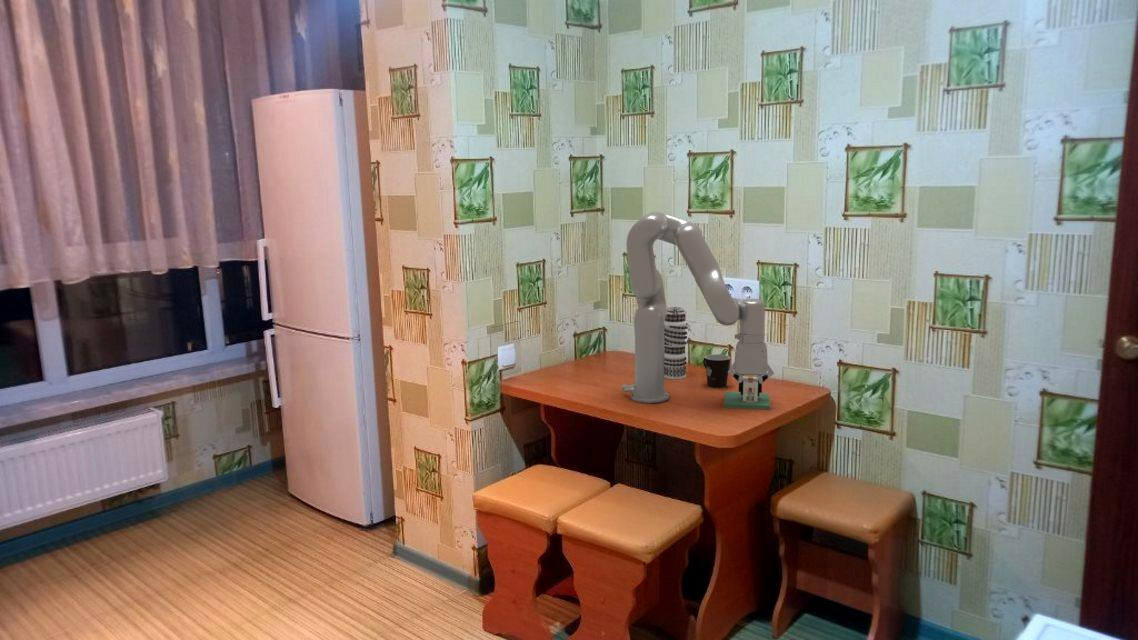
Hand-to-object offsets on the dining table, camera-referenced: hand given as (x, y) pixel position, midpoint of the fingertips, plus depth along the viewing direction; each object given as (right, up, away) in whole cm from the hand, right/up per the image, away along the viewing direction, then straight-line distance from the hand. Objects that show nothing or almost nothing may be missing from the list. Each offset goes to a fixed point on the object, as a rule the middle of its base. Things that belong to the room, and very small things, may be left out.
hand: (750, 393), depth 250 cm
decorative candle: (-20, +3, +34) cm, 39 cm away
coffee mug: (-7, +1, +22) cm, 23 cm away
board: (-1, -3, +1) cm, 3 cm away
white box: (0, -1, 0) cm, 1 cm away
